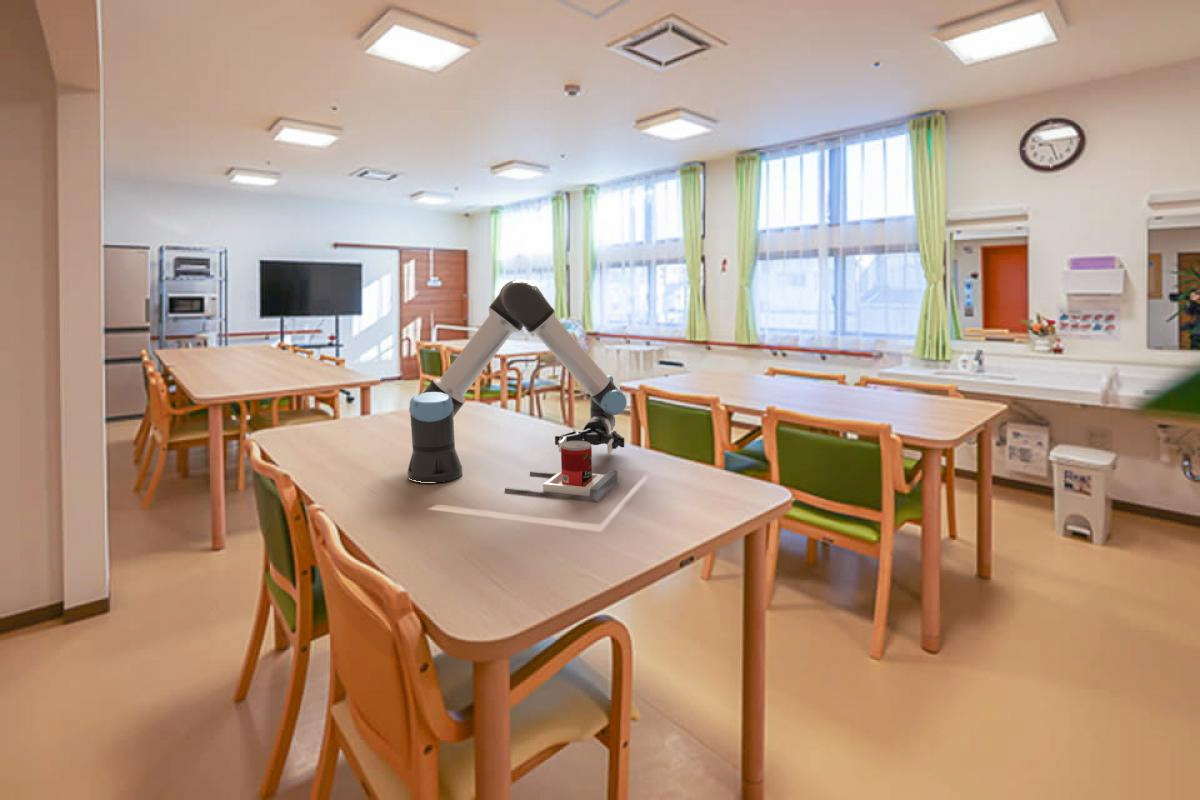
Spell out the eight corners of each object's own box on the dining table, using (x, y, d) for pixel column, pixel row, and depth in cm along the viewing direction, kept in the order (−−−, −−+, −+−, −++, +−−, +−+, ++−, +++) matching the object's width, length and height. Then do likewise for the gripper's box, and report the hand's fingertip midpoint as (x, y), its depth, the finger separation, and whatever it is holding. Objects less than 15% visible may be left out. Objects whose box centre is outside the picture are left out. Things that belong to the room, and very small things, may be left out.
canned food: (588, 490, 155) (588, 448, 153) (558, 488, 156) (557, 447, 154) (594, 481, 162) (594, 441, 160) (565, 479, 164) (564, 439, 162)
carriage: (543, 493, 156) (543, 483, 156) (561, 479, 167) (561, 470, 167) (592, 498, 152) (592, 489, 151) (607, 484, 163) (607, 475, 163)
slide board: (505, 495, 158) (504, 479, 157) (531, 477, 173) (531, 462, 172) (603, 507, 149) (603, 490, 148) (622, 486, 164) (622, 471, 163)
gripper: (637, 443, 187) (629, 463, 166) (557, 441, 191) (540, 460, 170) (637, 419, 185) (629, 436, 165) (557, 417, 189) (539, 433, 169)
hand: (584, 448), depth 167 cm, fingers open, 13 cm apart
